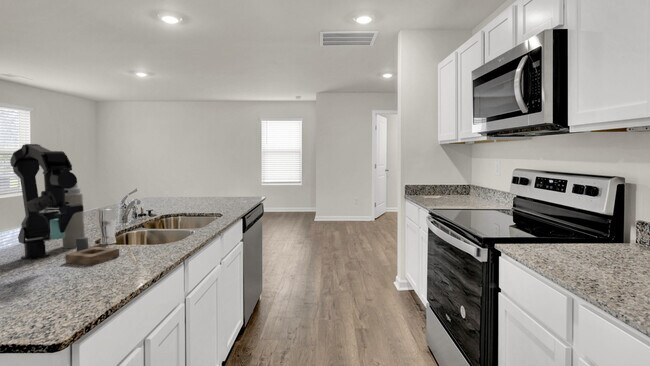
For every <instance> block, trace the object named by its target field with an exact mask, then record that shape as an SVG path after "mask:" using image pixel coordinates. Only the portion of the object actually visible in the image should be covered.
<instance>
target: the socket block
mask: <svg viewBox="0 0 650 366" xmlns="http://www.w3.org/2000/svg"><path fill="white" fill-rule="evenodd" d="M118 257H120V248H117V247H116V248H113V247H103V246H92V247H89V248H88V249H85V250H81V251H77V250H76V251H74V252H71V253H67V254H65V263H67V264H75V265H85V266H86V265H87V266H94V265H97V264H101V263H103V262H106V261H110V260H112V259H116V258H118Z"/></svg>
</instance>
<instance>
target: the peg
mask: <svg viewBox="0 0 650 366" xmlns="http://www.w3.org/2000/svg"><path fill="white" fill-rule="evenodd" d="M50 233H51V237H50V240H61V239H62V240H63V238H65V232H63V233H61V232H60V229H59V222H58V219H52V220H50Z"/></svg>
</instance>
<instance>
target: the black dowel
mask: <svg viewBox="0 0 650 366" xmlns="http://www.w3.org/2000/svg"><path fill="white" fill-rule="evenodd" d="M75 248H76V252H77V251H81V250H85V249H88V248H90V246H89V237H86V236H85V237H83V238H77V239H76V247H75Z"/></svg>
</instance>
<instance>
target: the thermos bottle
mask: <svg viewBox="0 0 650 366" xmlns="http://www.w3.org/2000/svg"><path fill="white" fill-rule="evenodd" d="M65 190H68V193H65V196H66V201H68V202H69V204H72V203H80V204H82V205H83V206H84V201H83V200H84V196H83V193H82V192H81V188H80V187H79V185H78V182H77V183H76V185H75V186H74V187H72V188H70V189H65ZM84 214H85V213H84V211H82V212H76V213H75V214H73V216H72V218H71V219H70V221H69V223H68V225H67V227H66V229H65V231H64V232H65V238H62V248H63V249H74V248H76V239H77V238H83V237H86V233H85V232H86V231H85V222H84V221H85V220H84V217H85V215H84Z"/></svg>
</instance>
